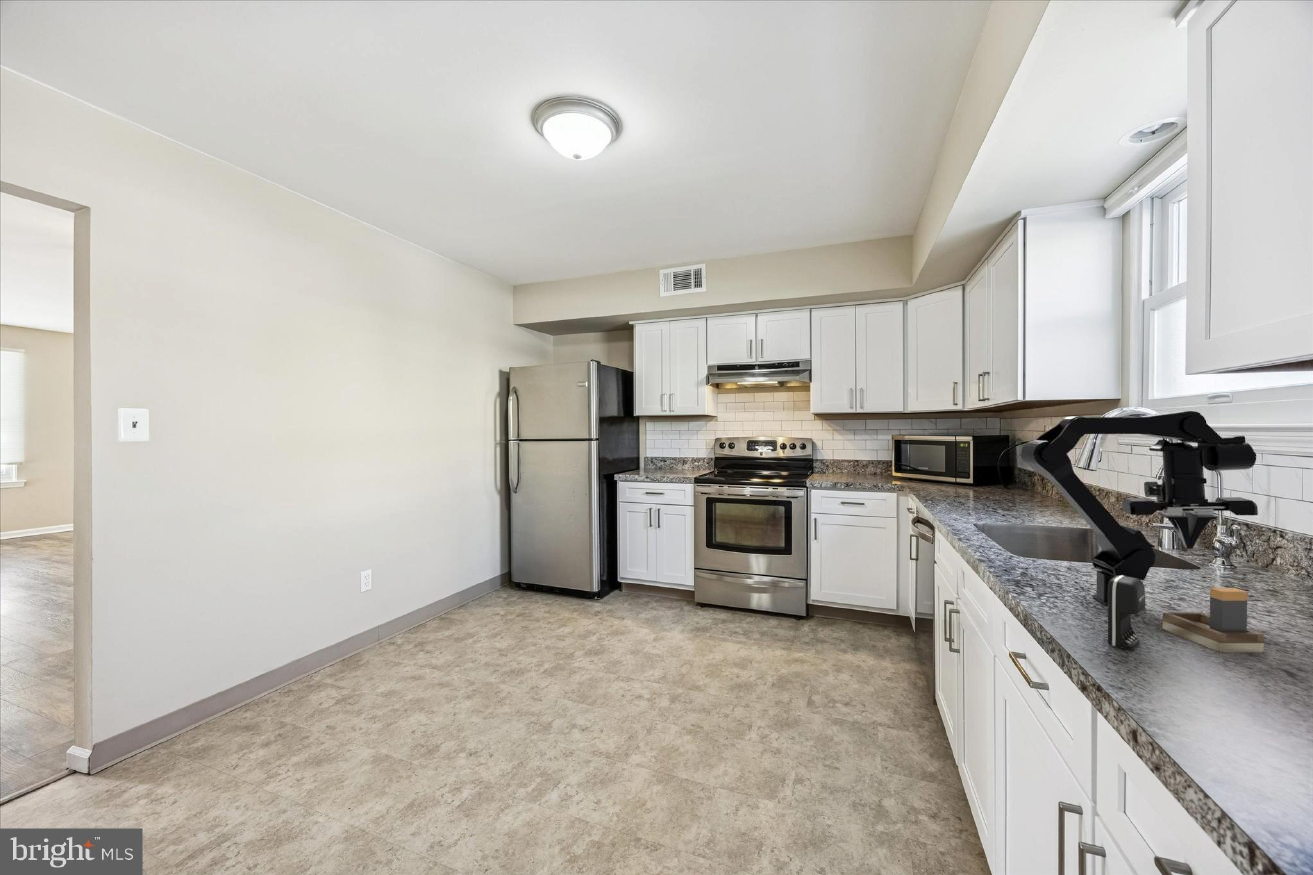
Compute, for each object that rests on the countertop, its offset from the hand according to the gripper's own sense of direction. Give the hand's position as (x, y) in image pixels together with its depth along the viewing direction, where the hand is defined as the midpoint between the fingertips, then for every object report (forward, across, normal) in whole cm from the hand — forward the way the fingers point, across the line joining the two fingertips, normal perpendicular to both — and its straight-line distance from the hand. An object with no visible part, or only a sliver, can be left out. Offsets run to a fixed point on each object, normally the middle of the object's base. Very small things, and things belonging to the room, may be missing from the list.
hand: (1188, 548), depth 106 cm
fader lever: (+10, +3, +22) cm, 25 cm away
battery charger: (+11, +18, +29) cm, 35 cm away
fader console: (+12, +4, +20) cm, 23 cm away
